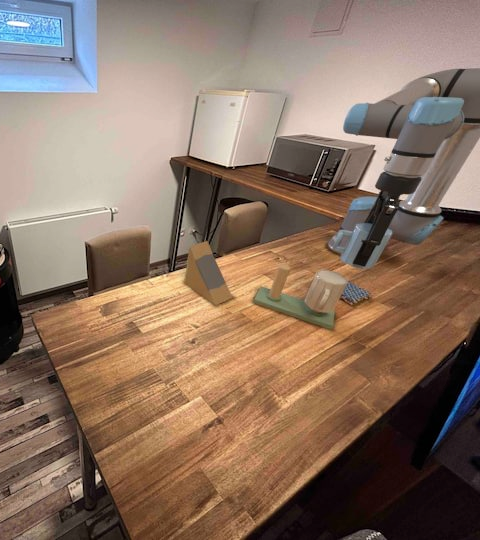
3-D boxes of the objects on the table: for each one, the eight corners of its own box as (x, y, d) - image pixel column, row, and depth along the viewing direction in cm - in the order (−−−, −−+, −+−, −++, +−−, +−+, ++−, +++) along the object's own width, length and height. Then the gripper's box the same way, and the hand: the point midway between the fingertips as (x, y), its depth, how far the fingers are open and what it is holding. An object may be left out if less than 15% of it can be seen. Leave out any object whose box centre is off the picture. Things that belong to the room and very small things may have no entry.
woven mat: (320, 288, 102) (322, 283, 101) (340, 281, 106) (343, 277, 105) (350, 306, 94) (353, 301, 93) (371, 298, 98) (374, 293, 97)
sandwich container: (215, 305, 94) (224, 266, 86) (183, 282, 105) (188, 246, 97) (233, 297, 98) (243, 259, 90) (200, 275, 109) (207, 240, 101)
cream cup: (301, 311, 85) (314, 283, 80) (305, 293, 93) (317, 267, 87) (331, 321, 82) (347, 293, 76) (333, 302, 89) (347, 275, 84)
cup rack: (259, 289, 102) (270, 256, 94) (332, 313, 91) (351, 277, 84) (253, 302, 95) (264, 268, 88) (331, 329, 85) (351, 293, 78)
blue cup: (329, 249, 86) (343, 218, 81) (372, 259, 82) (390, 227, 76) (328, 260, 81) (343, 227, 76) (374, 271, 76) (393, 237, 71)
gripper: (378, 163, 77) (342, 240, 89) (385, 181, 62) (341, 270, 75) (415, 167, 73) (372, 247, 86) (432, 187, 59) (378, 279, 71)
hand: (358, 257), depth 80 cm, fingers closed on blue cup, 8 cm apart
